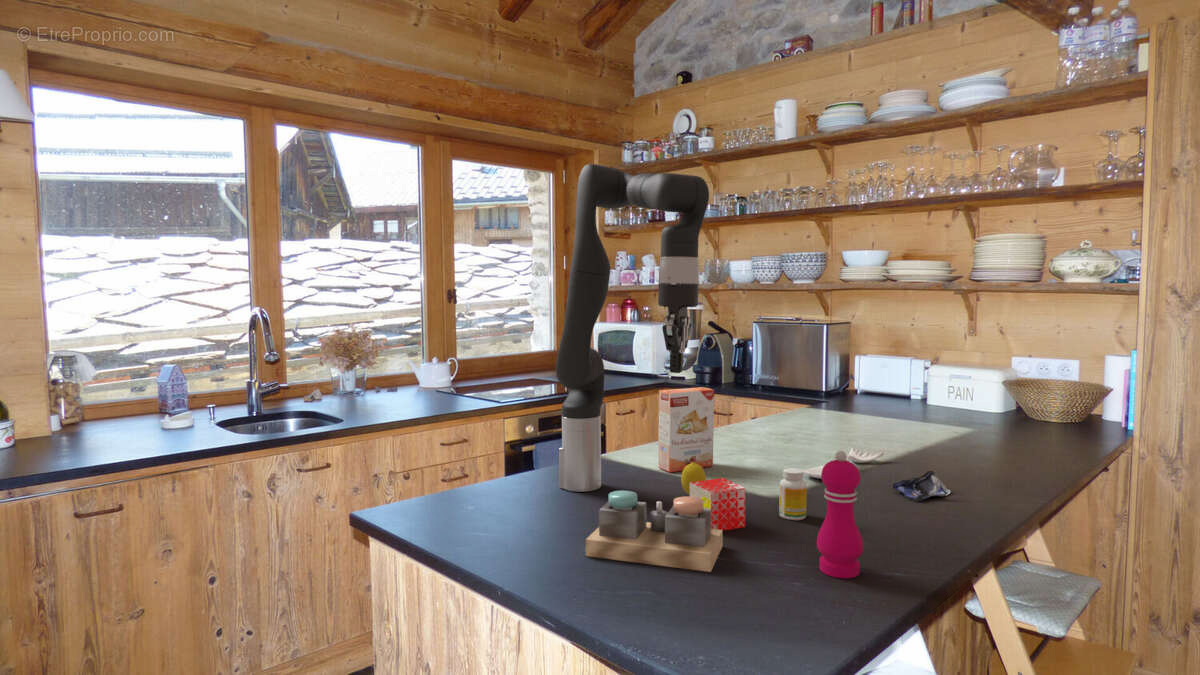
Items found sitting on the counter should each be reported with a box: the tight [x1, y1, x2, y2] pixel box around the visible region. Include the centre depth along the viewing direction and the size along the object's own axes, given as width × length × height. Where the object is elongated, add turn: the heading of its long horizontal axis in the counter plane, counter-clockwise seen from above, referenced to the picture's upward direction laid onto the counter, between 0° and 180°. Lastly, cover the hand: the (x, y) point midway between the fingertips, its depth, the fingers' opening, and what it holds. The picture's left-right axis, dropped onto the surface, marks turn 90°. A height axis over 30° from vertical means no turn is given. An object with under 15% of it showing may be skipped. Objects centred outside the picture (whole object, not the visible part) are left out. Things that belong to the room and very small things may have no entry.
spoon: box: [802, 446, 885, 480], centre depth 175 cm, size 9×32×4 cm, turn 135°
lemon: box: [680, 462, 707, 495], centre depth 153 cm, size 6×6×8 cm
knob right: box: [673, 495, 703, 518], centre depth 119 cm, size 5×5×7 cm
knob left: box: [608, 490, 638, 511], centre depth 123 cm, size 5×5×7 cm
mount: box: [585, 500, 724, 573], centre depth 121 cm, size 22×12×8 cm, turn 71°
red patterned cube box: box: [689, 477, 746, 531], centre depth 135 cm, size 8×8×8 cm
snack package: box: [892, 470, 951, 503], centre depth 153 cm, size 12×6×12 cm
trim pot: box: [650, 500, 669, 532], centre depth 123 cm, size 3×3×5 cm
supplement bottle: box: [778, 467, 808, 521], centre depth 139 cm, size 5×5×10 cm
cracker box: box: [658, 386, 715, 473], centre depth 178 cm, size 14×6×21 cm, turn 117°
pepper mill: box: [816, 450, 864, 579], centre depth 111 cm, size 7×7×20 cm
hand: (676, 372), depth 130 cm, fingers closed
